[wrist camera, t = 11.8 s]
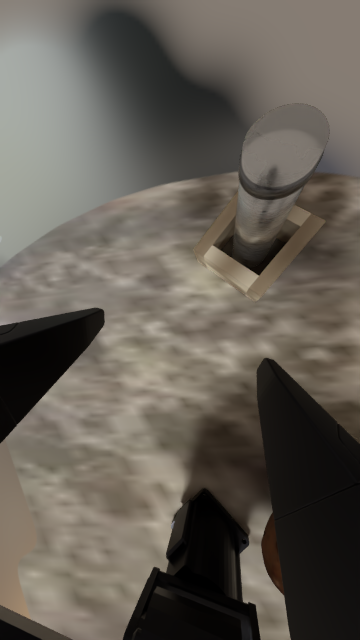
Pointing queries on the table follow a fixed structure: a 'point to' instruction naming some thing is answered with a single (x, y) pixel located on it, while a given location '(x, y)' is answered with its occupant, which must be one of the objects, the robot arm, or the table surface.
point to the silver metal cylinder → (274, 175)
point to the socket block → (209, 254)
